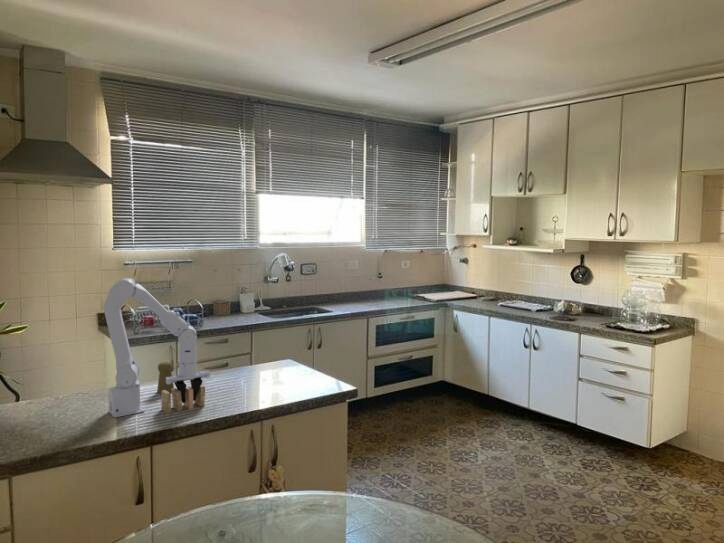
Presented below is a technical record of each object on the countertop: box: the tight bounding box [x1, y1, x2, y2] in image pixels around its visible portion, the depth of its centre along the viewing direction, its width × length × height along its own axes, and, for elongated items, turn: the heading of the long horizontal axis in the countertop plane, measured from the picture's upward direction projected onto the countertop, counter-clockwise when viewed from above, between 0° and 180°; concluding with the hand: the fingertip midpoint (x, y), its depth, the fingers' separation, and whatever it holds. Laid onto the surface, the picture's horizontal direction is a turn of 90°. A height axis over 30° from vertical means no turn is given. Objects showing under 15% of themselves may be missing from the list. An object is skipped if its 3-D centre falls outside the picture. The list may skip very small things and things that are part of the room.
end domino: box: [194, 384, 206, 407], centre depth 189 cm, size 1×5×6 cm, turn 39°
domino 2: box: [183, 385, 194, 410], centre depth 186 cm, size 1×5×6 cm, turn 38°
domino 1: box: [160, 390, 172, 414], centre depth 182 cm, size 1×5×6 cm, turn 38°
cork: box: [156, 361, 175, 395], centre depth 202 cm, size 6×6×11 cm
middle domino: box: [171, 387, 183, 412], centre depth 184 cm, size 1×5×6 cm, turn 38°
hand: (188, 401), depth 186 cm, fingers open, 3 cm apart
